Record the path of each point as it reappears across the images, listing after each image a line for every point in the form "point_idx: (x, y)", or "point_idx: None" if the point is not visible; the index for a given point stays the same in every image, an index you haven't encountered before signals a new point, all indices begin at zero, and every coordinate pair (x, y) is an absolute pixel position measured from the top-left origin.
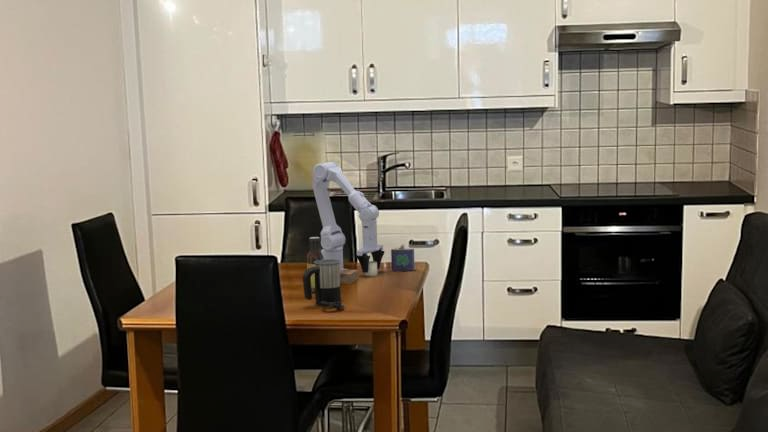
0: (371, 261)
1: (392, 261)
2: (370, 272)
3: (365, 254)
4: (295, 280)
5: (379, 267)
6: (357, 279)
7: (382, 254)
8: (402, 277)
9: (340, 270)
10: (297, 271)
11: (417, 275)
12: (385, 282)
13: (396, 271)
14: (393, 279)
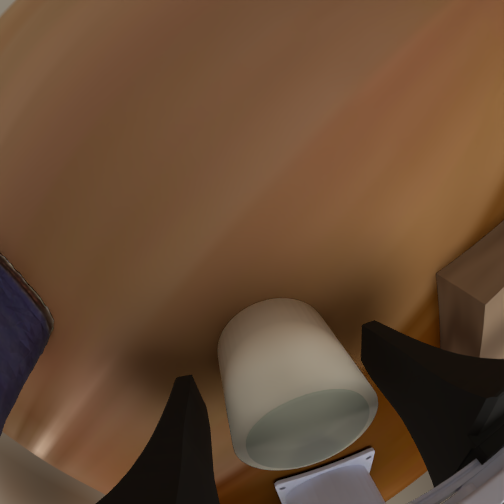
0: (285, 448)
1: (13, 378)
2: (328, 328)
3: (492, 441)
4: None
5: (178, 384)
6: (455, 263)
7: (136, 497)
8: (159, 22)
9: None
10: None
11: (21, 15)
12: (402, 29)
13: (30, 287)
14: (287, 28)
